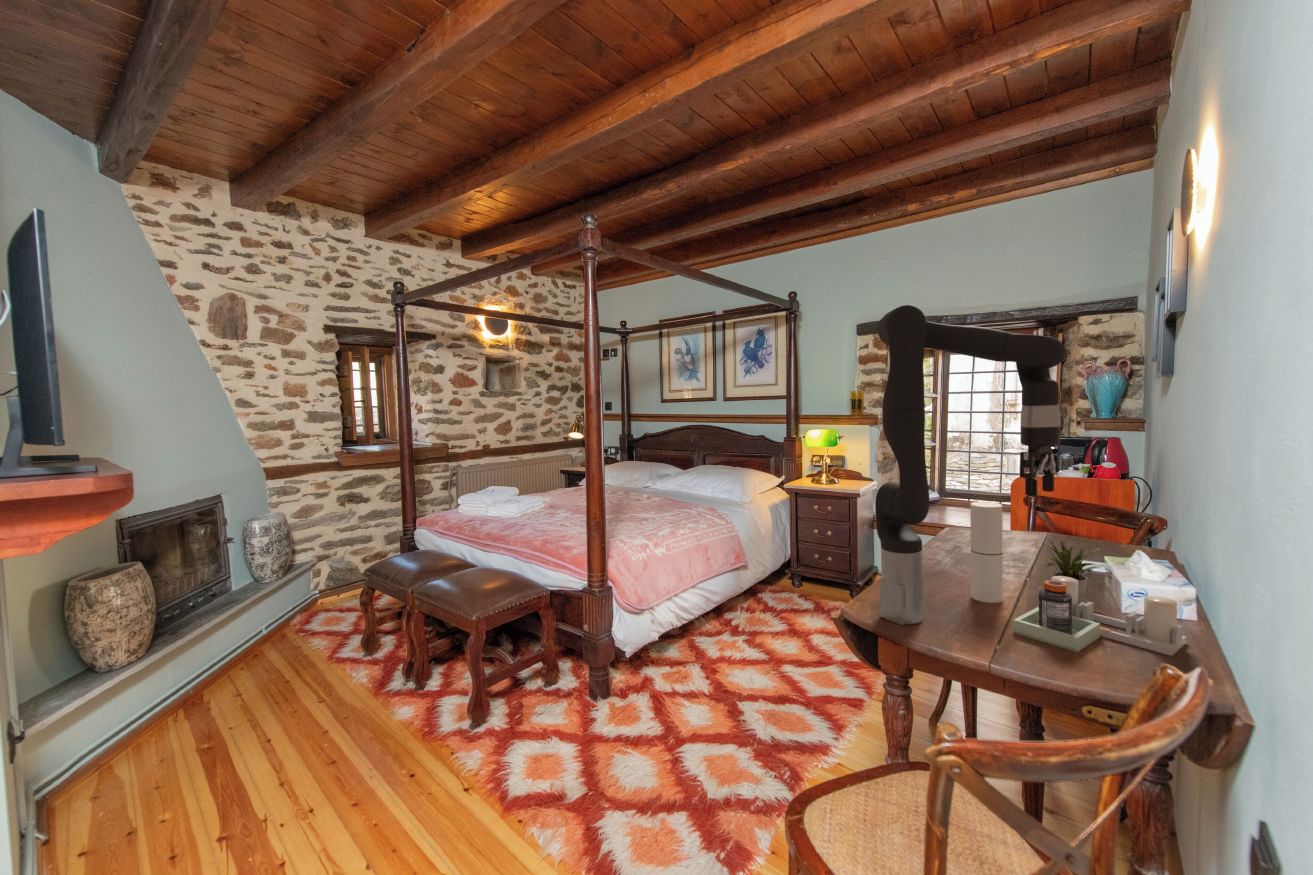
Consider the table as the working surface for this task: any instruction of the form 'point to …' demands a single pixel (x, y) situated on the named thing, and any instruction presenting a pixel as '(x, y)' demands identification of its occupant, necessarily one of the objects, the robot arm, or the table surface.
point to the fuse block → (1135, 621)
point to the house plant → (1071, 566)
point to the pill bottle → (1055, 607)
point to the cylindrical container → (986, 552)
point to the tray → (1079, 639)
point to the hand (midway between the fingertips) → (1040, 493)
